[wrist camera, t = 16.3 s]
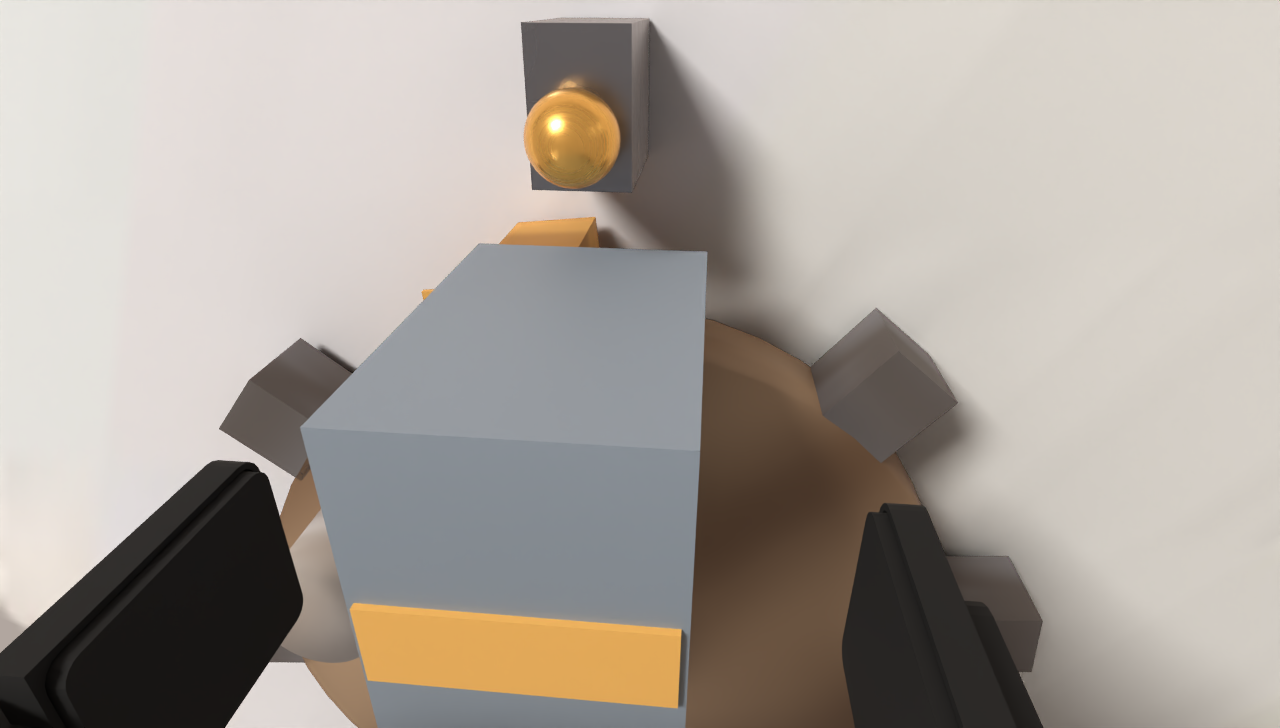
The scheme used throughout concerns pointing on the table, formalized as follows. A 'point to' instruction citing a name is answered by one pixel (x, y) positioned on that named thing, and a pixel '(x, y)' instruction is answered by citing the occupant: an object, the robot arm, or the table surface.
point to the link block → (524, 492)
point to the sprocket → (701, 513)
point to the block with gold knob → (586, 102)
